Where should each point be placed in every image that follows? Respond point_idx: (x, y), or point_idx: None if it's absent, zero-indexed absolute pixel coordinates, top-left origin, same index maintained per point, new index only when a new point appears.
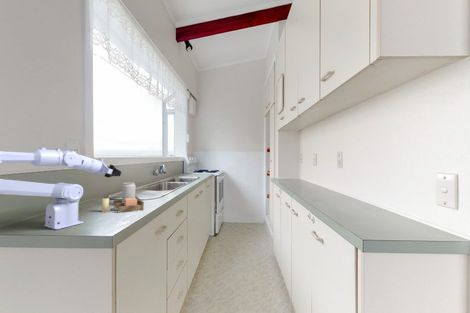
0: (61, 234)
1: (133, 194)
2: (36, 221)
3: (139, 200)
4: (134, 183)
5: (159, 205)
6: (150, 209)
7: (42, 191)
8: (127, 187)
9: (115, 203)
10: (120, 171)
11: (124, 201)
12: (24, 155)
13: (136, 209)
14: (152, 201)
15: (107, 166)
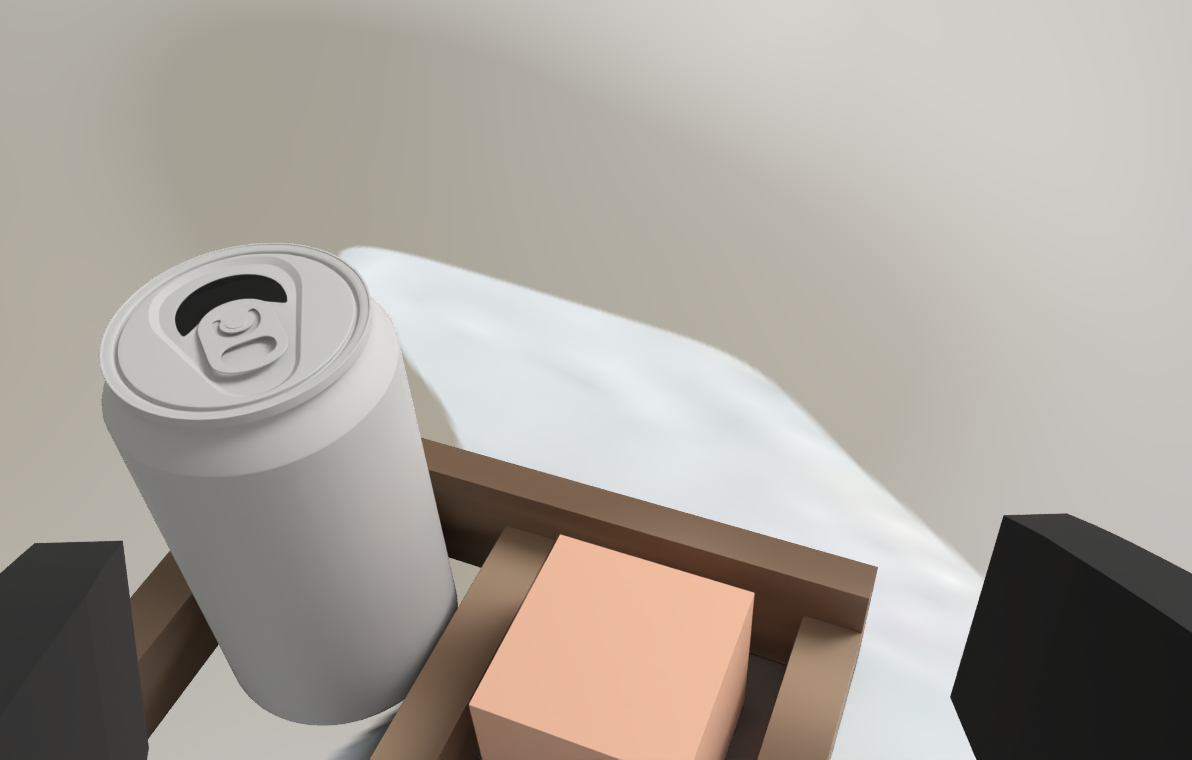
0: None
1: (428, 472)
2: None
3: (692, 546)
4: (357, 274)
5: (726, 367)
6: (882, 562)
7: None
8: (342, 456)
9: None
10: (1137, 556)
11: (496, 742)
12: None
13: (833, 745)
14: (423, 305)
15: (43, 673)
